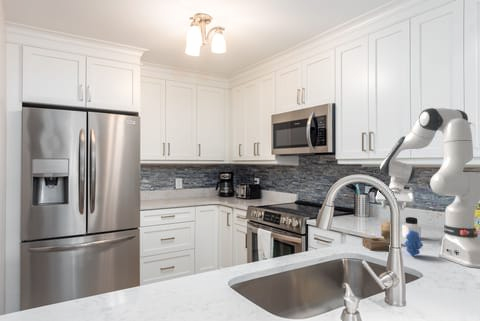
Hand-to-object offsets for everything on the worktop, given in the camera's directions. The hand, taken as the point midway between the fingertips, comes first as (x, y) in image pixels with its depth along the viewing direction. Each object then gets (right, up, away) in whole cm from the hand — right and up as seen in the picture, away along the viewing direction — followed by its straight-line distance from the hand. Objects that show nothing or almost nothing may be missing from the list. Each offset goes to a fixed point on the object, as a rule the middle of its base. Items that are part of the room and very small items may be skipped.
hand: (392, 208), depth 178 cm
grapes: (-6, -17, -34) cm, 38 cm away
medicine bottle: (+13, -18, +4) cm, 22 cm away
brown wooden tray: (-18, -17, -19) cm, 31 cm away
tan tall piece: (-8, -17, -10) cm, 21 cm away
